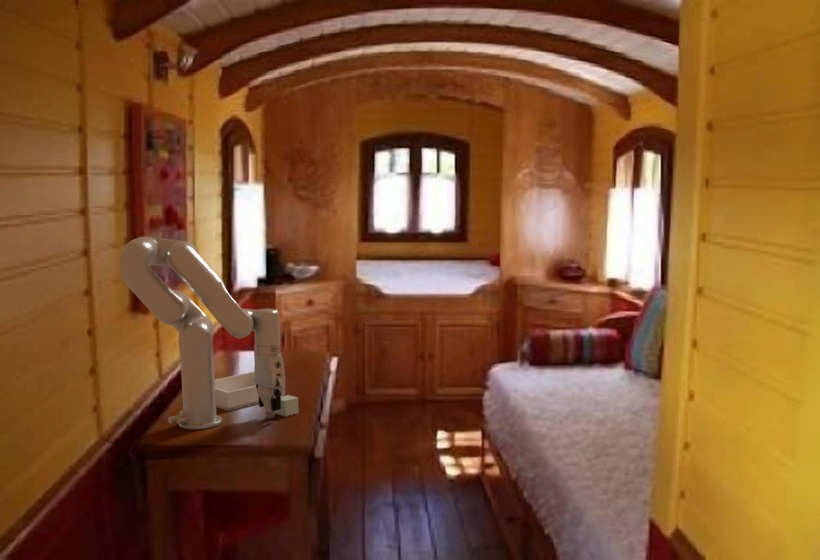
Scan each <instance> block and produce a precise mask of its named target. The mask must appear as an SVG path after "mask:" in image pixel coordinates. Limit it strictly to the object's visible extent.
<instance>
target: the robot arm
mask: <svg viewBox="0 0 820 560" xmlns="http://www.w3.org/2000/svg"><path fill="white" fill-rule="evenodd" d="M121 251H122V252H121V253H120V254H121V255H120V257H119V264H118V266H119V272H120V275H121V278H122V281H123V282H124V284H125V285H126V286H127V287H128V289H129V290H131V292H132V293H133V294H134V295H135V296H136V297H137V299H138V300H140V301H141V302H142V304H143V305H144V306H145V307H146V308H147V309H148V310H149V311H150V312H151V313H152V314H153V315H154V316H155V317H156V319H158V321H159V322H160V323H162V324H165V325H167V326H172V327H173V328H174V329H175V330H177V332H178V333H179V334H178V350H179V357H180V371H181V372H180V375H181V390H182V391H181V392H182V408H183V409H181V410H180V411H179V413H178V414H176V415H173V416H168V419H167V421H168V423H169V424H174V423H177V424H178V427H180V428H182V429H185V430H205V429H209V428H214V427H216V426H219V425H220V424H221V423H222V422H223V419H222V418H223V417H222V416H220V415H219V414H217V407H216V398H215V380H216V379H215V363H214V361H215V360H214V347H213V341H214V340H213V339H214V335H215V325H214V323H213V321H212V320H211V319H210V318H209V316H207V315H206V314H205V313H204V311H202V309H200V308H199V306H198V305H197V304H196V303H195V302H194V301H193V300H192V299H191V298H190V297H189V296H188V295H186V294H185V292H183V291H181V290H178V289H172V288H171V287H170V286H169V285H168V284H167V283H166V282H165V281H164V280H163V279H162V278H161V277H160V276H159V275H158V274H157V273H156V272H155V271H154V270H153V269H152V266H156V267H157V266H158V267H167V268H171V270H172V271H173V272H174V273H176V275H177V276H178V277H179V278H180V279H181V281H183V282H184V283H185V284H186V285H187V287H188V288H189V289H190V290H191V291H192V292H193V293H194V294H195V295H196V297H198V299H199V301H200V302H201V303H202V304H203V305H204V306H205V308H206V309H207V310H208V311H209V313H210V314H211V315H212V316H213V317H214V319H215V320H216V321H217V322H218V324H220V325H221V326H222V328H223V329H224V330H226V332H227V333H228V334H230V336H232V337H234V338H237V339H244V338H246V337H248V336H249V335H250V334H251V333H252V332H254V344H255V361H254V367H253V368H254V371H253V372H254V375H255V378H254V379H253V381H254V383H255V385H256V388H257V390H258V391H257V393H258V394H259V391H260V389H261V387H262V386H264V387H267V388H270V390H271V394H272V398H271V410H272V411H274V412H276V410H280V409H281V396H282V393H283V391H284V390H285V391H286V389H287V388H286V373H285V365H284V359H283V355H282V354H281V330H280V327H281V326H280V324H281V323H280V312H279V311H278V310H277V309H274V308H260V309H253V308H252V309H251V308H241V306H240V305H239V304H238V302H236V301H235V299H233V297H232V296H231V294H230V293H229V292H228V290H227V288H226V286H225V283H224V282H223V280H222V278H221V277H220V276H219V274H217V273H216V271H215V270H213V268H212V267H211V266H210V265H209V263H208V262H206V261H205V260H204V259H203V257H202V256H201V255H200V253H199V252H198V249H197V247H196V246H195V245H194V243H192V242H190V241H187V240H180V239H170V238H162V237H152V236H139V237H137V238H134V239H132V240H130V241H129V242H128V243H127V244H126V245H125V246H124V247H123V249H122V250H121ZM275 385H276V386H277V387H275ZM274 389H277V391H276V392H275V391H274ZM258 407H259V408H263V407H264V404H263V402H262V400H261V399H260V396H259V404H258Z"/></svg>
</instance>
